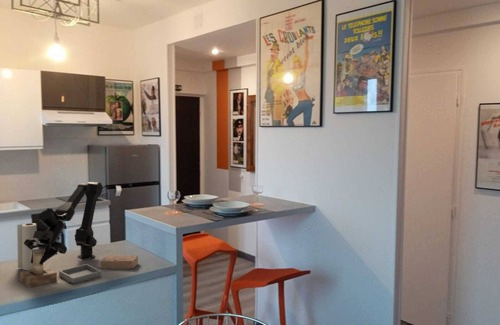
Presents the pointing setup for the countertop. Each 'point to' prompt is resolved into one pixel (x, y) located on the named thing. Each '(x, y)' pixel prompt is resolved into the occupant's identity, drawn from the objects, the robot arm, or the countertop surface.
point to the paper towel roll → (23, 251)
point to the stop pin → (37, 260)
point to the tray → (79, 273)
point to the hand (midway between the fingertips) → (35, 263)
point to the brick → (119, 261)
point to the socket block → (38, 277)
